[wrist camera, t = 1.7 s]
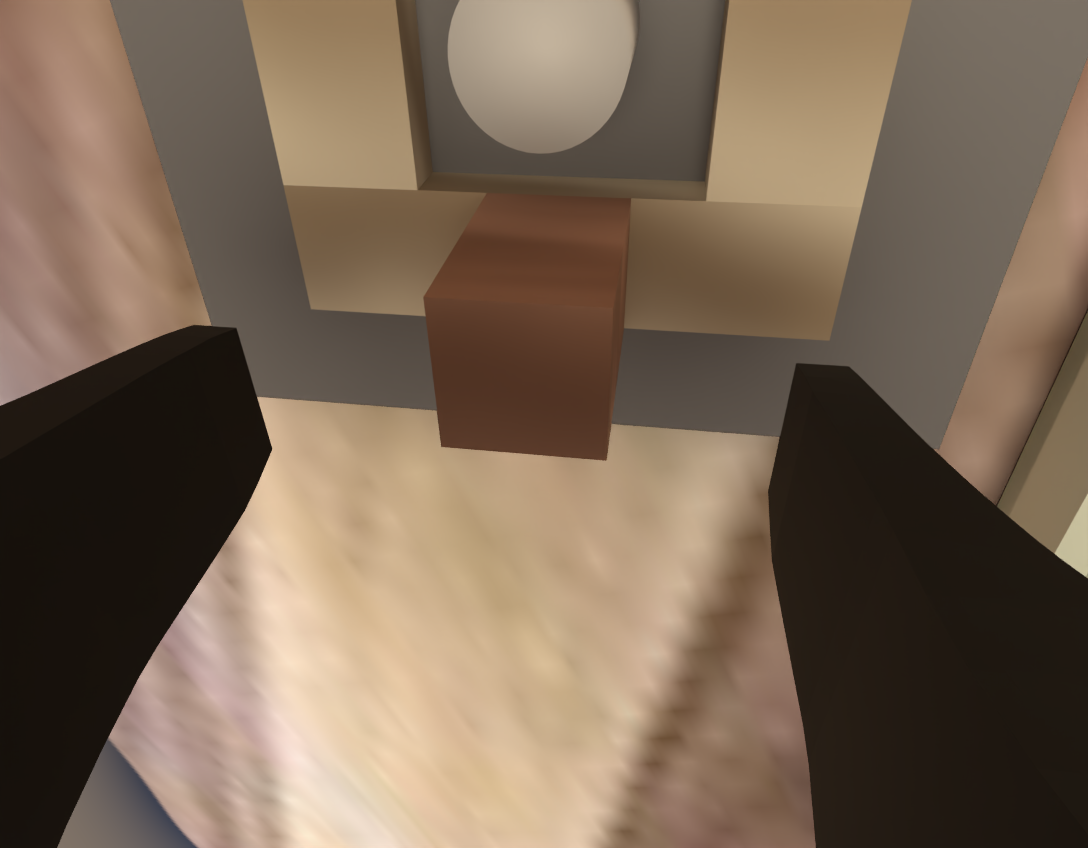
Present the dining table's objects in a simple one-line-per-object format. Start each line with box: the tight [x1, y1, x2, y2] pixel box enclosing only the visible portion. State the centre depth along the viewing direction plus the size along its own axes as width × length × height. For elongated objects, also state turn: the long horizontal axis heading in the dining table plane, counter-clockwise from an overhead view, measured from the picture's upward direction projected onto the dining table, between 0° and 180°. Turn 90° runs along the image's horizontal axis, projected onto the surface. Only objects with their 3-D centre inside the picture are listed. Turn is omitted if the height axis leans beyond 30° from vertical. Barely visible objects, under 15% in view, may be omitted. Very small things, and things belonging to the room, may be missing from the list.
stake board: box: [110, 0, 1088, 449], centre depth 11 cm, size 16×16×4 cm
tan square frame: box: [243, 0, 912, 460], centre depth 10 cm, size 10×10×5 cm
